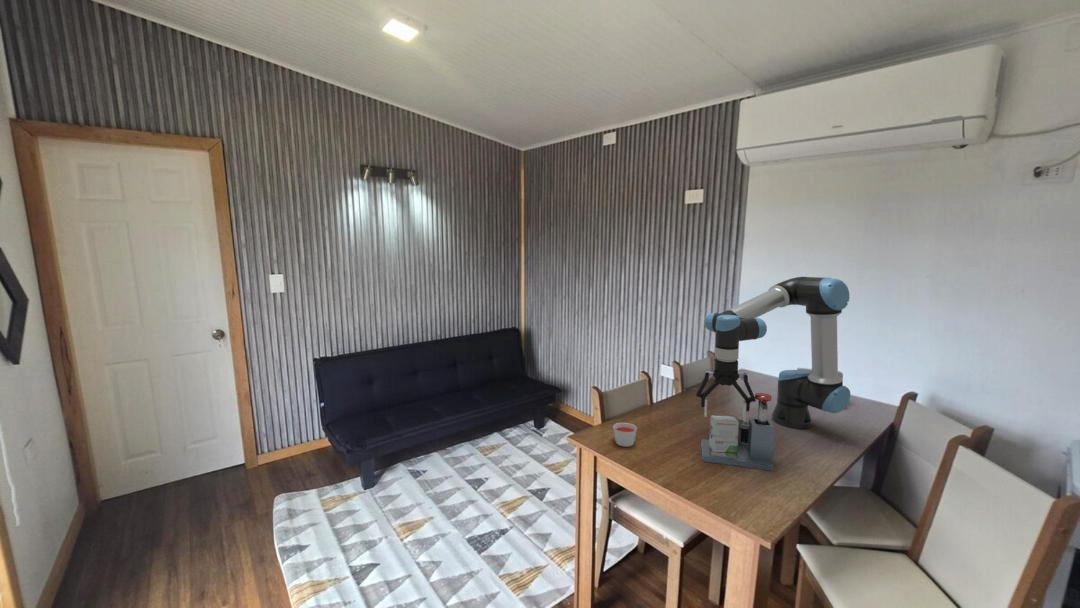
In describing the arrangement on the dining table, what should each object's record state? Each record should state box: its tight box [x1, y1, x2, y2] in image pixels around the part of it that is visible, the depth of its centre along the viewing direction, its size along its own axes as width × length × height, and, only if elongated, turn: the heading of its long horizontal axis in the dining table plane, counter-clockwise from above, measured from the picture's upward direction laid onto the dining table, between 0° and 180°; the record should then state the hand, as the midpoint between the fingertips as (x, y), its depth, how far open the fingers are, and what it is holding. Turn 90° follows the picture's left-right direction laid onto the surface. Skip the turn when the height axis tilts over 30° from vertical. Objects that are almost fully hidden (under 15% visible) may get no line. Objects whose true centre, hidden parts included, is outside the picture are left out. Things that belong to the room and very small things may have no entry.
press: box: [700, 417, 776, 472], centre depth 150 cm, size 22×14×14 cm, turn 71°
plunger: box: [754, 392, 772, 425], centre depth 147 cm, size 5×9×15 cm, turn 161°
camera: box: [731, 415, 749, 445], centre depth 165 cm, size 16×9×10 cm, turn 66°
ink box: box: [708, 415, 739, 453], centre depth 151 cm, size 9×5×12 cm, turn 84°
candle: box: [612, 422, 638, 448], centre depth 163 cm, size 9×9×6 cm
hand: (724, 417), depth 151 cm, fingers open, 12 cm apart
